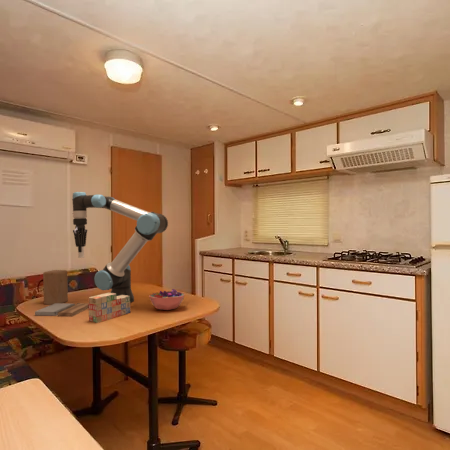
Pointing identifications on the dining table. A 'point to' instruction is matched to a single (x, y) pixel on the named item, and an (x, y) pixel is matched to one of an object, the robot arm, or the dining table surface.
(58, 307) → the plank
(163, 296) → the cell model
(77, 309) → the board
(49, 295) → the wooden block
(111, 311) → the stack of blocks
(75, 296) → the dining table surface
